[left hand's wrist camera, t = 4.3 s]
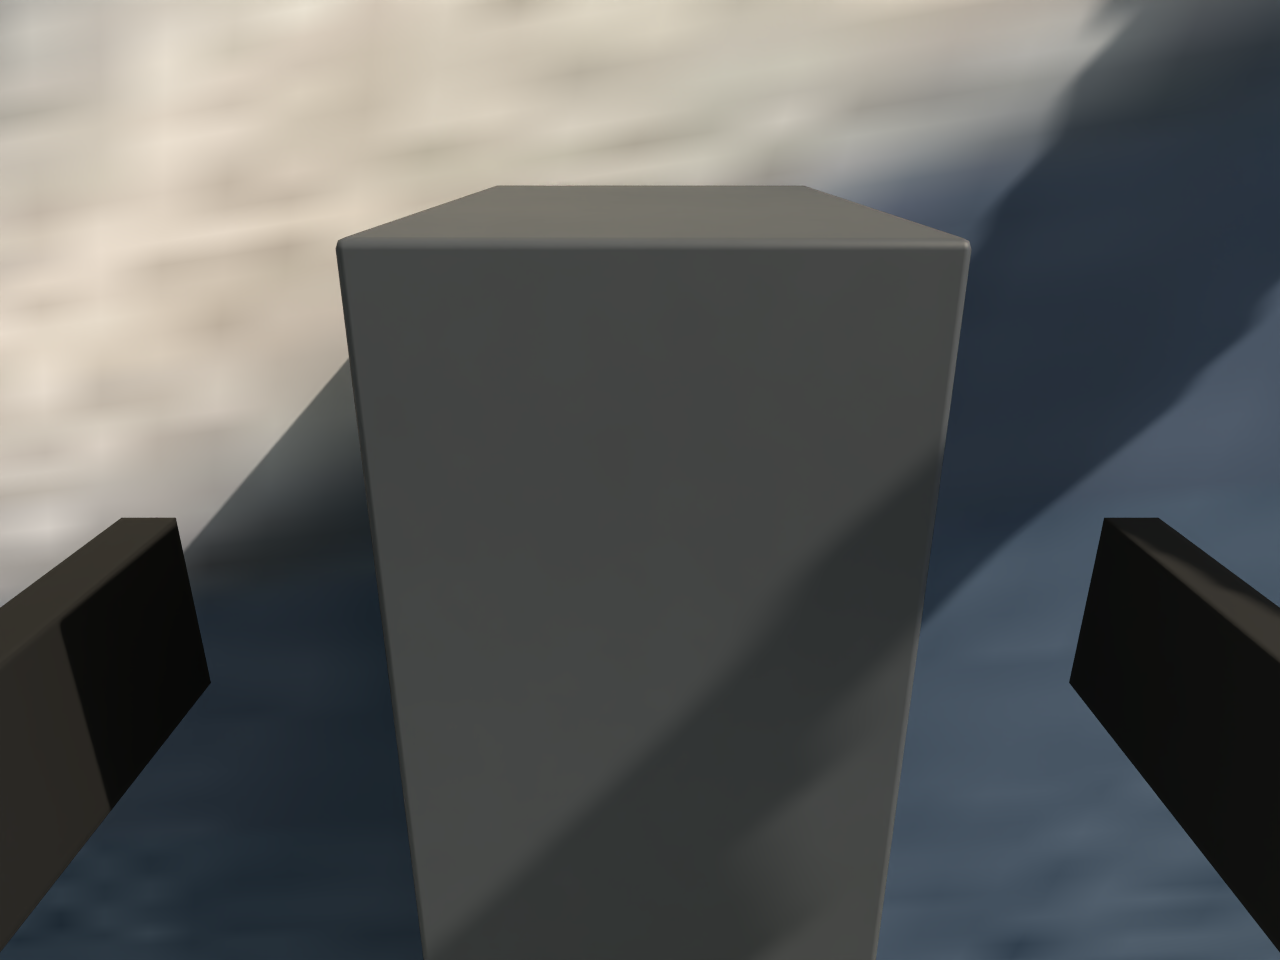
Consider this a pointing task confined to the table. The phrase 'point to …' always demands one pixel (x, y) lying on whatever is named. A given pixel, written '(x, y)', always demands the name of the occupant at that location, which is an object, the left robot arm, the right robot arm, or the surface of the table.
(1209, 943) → the table surface
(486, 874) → the beam
